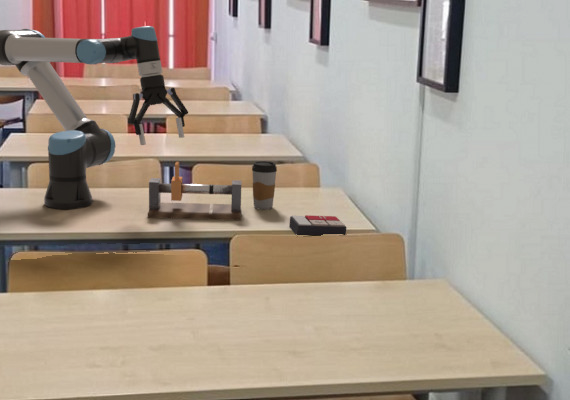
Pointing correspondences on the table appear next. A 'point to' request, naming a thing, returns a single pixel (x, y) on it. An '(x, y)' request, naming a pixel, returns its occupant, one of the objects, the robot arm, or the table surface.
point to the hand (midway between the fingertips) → (162, 141)
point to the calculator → (316, 225)
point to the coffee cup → (263, 184)
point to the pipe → (195, 192)
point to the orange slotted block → (176, 185)
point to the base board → (195, 211)
